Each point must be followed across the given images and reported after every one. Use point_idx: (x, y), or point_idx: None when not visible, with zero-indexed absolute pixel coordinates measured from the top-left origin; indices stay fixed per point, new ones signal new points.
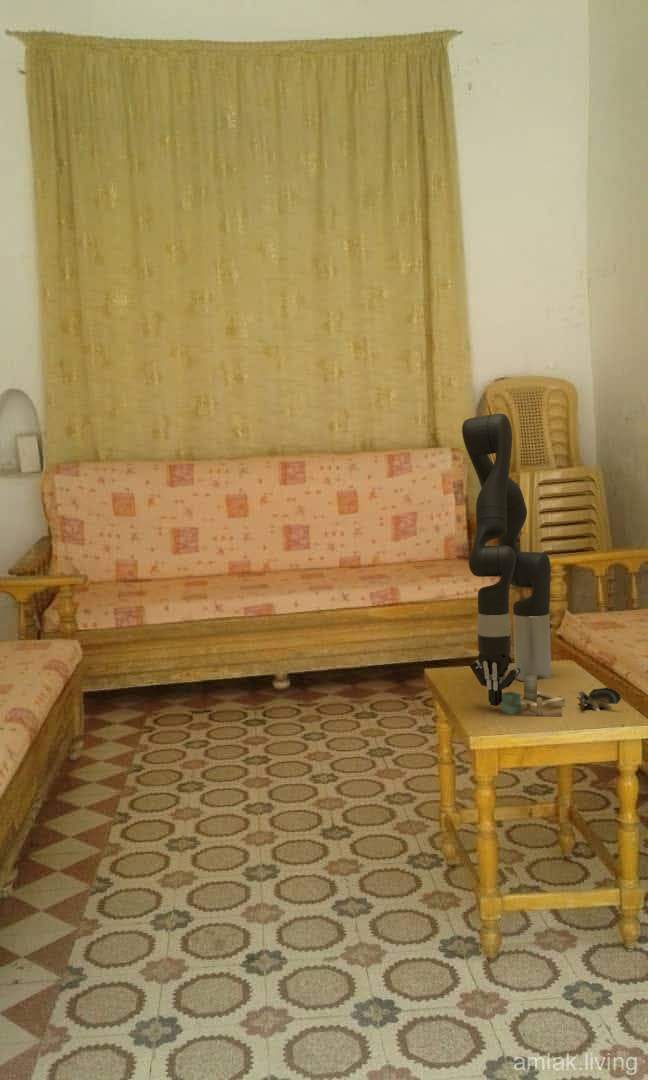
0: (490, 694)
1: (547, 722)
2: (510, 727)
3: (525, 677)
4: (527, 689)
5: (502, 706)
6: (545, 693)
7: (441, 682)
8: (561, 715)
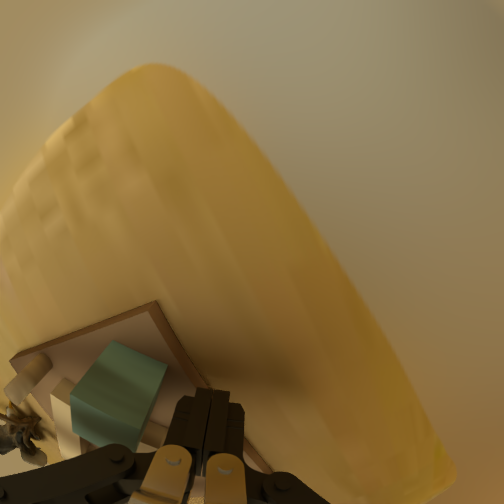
0: (222, 431)
1: (33, 339)
2: (76, 236)
3: None
4: None
5: (156, 380)
6: None
7: (444, 468)
8: (16, 370)
